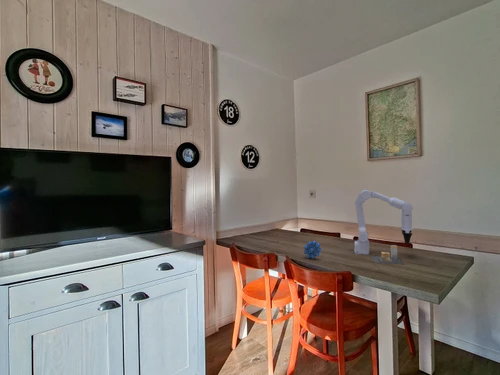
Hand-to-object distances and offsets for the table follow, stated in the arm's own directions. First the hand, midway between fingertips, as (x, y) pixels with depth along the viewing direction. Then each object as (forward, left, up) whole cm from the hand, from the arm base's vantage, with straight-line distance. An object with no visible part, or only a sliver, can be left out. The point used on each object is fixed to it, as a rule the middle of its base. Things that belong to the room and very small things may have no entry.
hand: (406, 242), depth 169 cm
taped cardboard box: (-14, -15, -9) cm, 22 cm away
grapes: (-57, -17, -10) cm, 61 cm away
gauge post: (-8, -7, -9) cm, 14 cm away
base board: (-13, -12, -10) cm, 20 cm away
